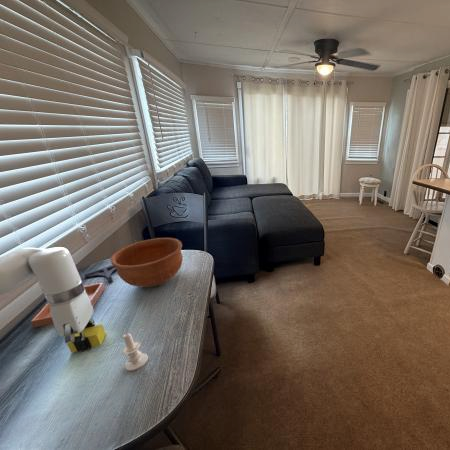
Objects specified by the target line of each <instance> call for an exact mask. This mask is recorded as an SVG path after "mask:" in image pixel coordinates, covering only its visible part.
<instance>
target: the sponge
mask: <svg viewBox="0 0 450 450" xmlns="http://www.w3.org/2000/svg"><path fill="white" fill-rule="evenodd" d="M83 330H84V334H85V337H88V339H89V341H90V344H91V346H92V347H91V348H95V347H99V346H101V345H102V343H103V341H104V339H105V337H106V335H107V333H106V331H105V328H104V325H103V324H102V323H101V324H95V326H92V327H88V328H84V329H83ZM74 335H75V337H76V336H80V334H79V333H77V334H74ZM66 345H67V347H68V349H69V351H70V353H71V354H72V353H76V352H77V350H76V348H75V346H74V343H67V344H66Z"/></svg>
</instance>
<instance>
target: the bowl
mask: <svg viewBox="0 0 450 450" xmlns="http://www.w3.org/2000/svg"><path fill="white" fill-rule="evenodd" d="M182 248H183V243H182V240H179V239H178V238H173V237H156V238H150V239H145V240H141V241H138V242H134V243H132V244H129V245H127V246H125V247H123V248H121V249H119V250H117V251H116V252H115V253H113V255H112V256H111V257H110V259H109V262H110V263H111V266H112V265H114V266H115V267H116V273H117V276H118V277H119V278H120V279H121V281H123V282H125V283H126V284H128V285H130V286H132V287H133V286H134V287H137V288H149V287H159V286H161V285H163V284H165V283H166V282H167V281H169V280H170V279H172V277H174V276H175V275H176V274H178V272H179V270H181V267H182V264H183V263H182V262H183V253H182Z"/></svg>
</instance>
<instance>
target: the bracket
mask: <svg viewBox="0 0 450 450" xmlns="http://www.w3.org/2000/svg"><path fill="white" fill-rule="evenodd" d="M110 269H111V270H110ZM115 270H116V271H117V269H116V267H115V266H114V265H112V264H111V265H110V266H105V267H103V268H100V269H99V268H98V269H97V270H94V271H89V272H87V273H84V274H83V276H84V278H90V277H98V276H99V277H100V276H102V277H104V278H106V279H107V282H108V283H109V284H110V283H113V282H114V281H113V278H112V276H111V275H112V273H114V272H115ZM101 272H102V273H101Z"/></svg>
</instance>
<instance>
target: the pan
mask: <svg viewBox="0 0 450 450" xmlns="http://www.w3.org/2000/svg"><path fill="white" fill-rule="evenodd" d="M84 288H85V292H86V294H87V295H88V297H89V299H90V301H91V304H92V306H93V307H94V306H95V305H96V303H97V301H98V300H99V298H100V297H101V296H102V293H103V292H104V290H105V289H106V287H105V283H104V282H99V283H94V284H87V285H84ZM30 323H31V324H32V326H33V328H39V327H43V326H48V325H51V324H54V323H53V320H52V317H51V313H50V305H49V303H48V302H47V303H46V304H45V305H44V306H43V307H42V308H41V309H40V310H39V312H38V313H36V315H35V316H34V317H33V318H32V319H31V320H30Z"/></svg>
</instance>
